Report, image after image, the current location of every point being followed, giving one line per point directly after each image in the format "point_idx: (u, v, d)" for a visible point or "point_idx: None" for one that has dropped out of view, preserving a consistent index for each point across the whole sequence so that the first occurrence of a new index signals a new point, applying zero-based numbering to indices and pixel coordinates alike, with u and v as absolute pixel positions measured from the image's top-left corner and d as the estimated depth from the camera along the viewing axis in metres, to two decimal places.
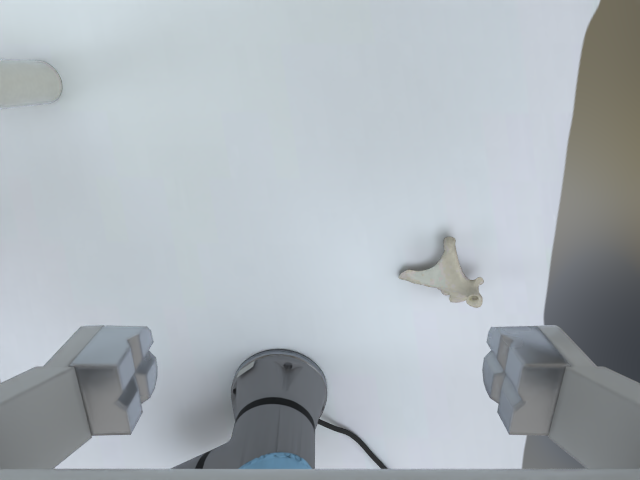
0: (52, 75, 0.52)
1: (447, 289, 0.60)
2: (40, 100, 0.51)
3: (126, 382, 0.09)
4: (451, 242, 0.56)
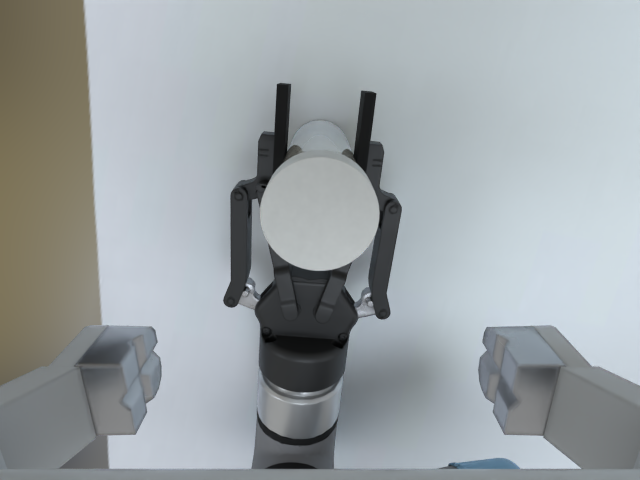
0: None
1: None
2: None
3: (131, 382, 0.09)
4: None
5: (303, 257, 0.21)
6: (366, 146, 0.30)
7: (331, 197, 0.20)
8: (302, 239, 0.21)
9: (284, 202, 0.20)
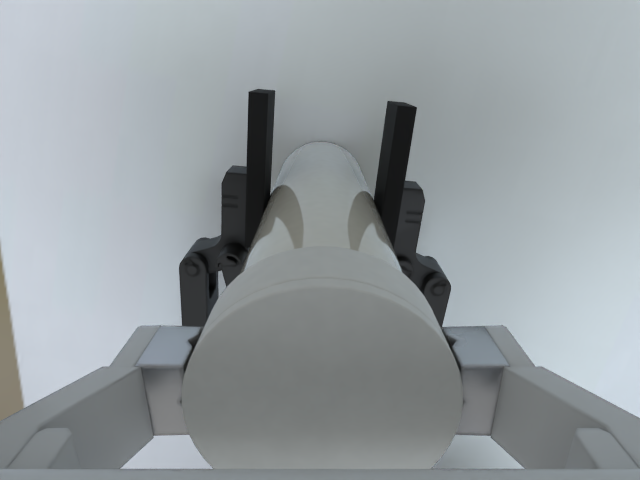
0: None
1: None
2: None
3: None
4: None
5: None
6: (397, 193, 0.18)
7: (352, 372, 0.08)
8: (282, 454, 0.09)
9: (238, 383, 0.08)
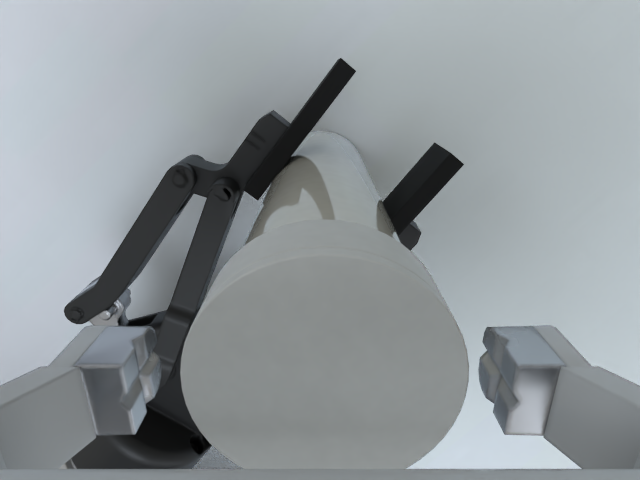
0: None
1: None
2: None
3: (131, 382, 0.09)
4: None
5: None
6: (403, 224, 0.19)
7: (327, 337, 0.08)
8: (314, 440, 0.09)
9: (234, 391, 0.08)
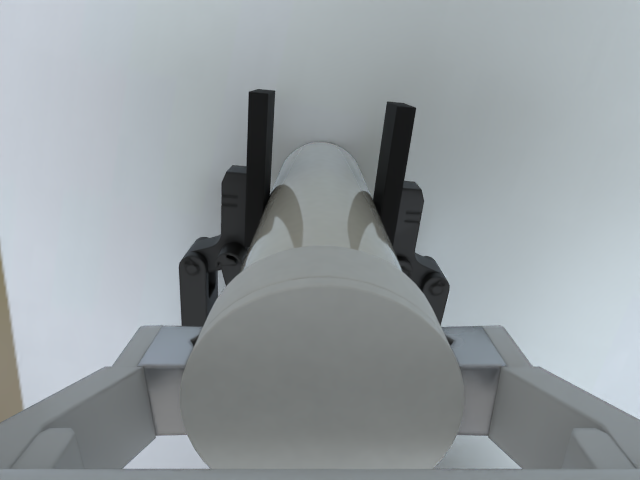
0: None
1: None
2: None
3: None
4: None
5: None
6: (397, 193, 0.18)
7: (292, 371, 0.08)
8: (349, 460, 0.09)
9: (253, 453, 0.09)
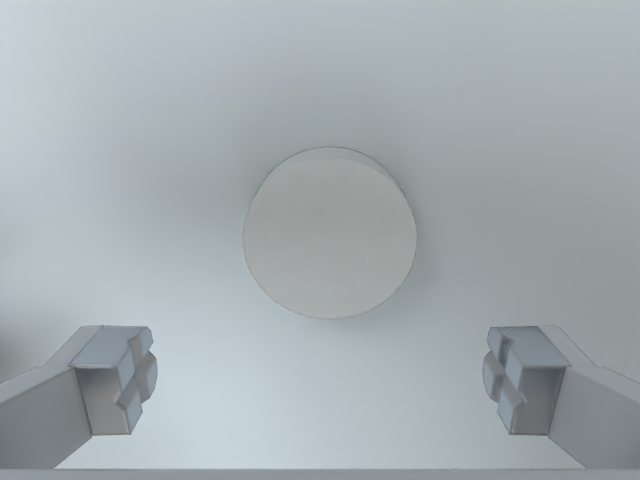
0: None
1: None
2: None
3: (126, 382, 0.09)
4: None
5: (368, 294, 0.14)
6: None
7: (313, 215, 0.13)
8: (344, 281, 0.14)
9: (284, 272, 0.14)
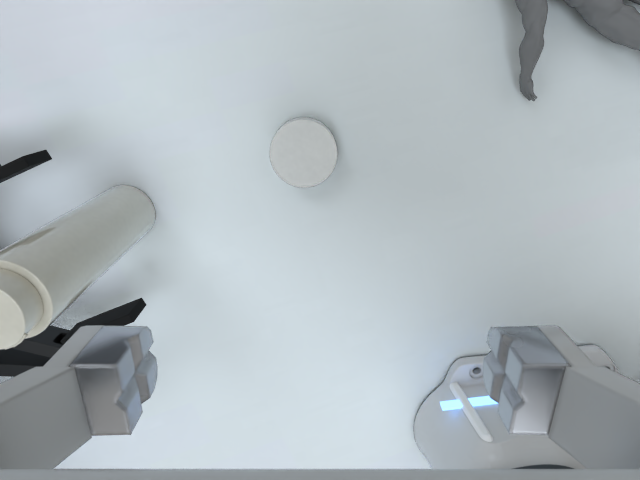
0: None
1: None
2: None
3: (126, 382, 0.09)
4: None
5: (320, 175, 0.36)
6: None
7: (296, 142, 0.35)
8: (310, 169, 0.36)
9: (286, 167, 0.36)
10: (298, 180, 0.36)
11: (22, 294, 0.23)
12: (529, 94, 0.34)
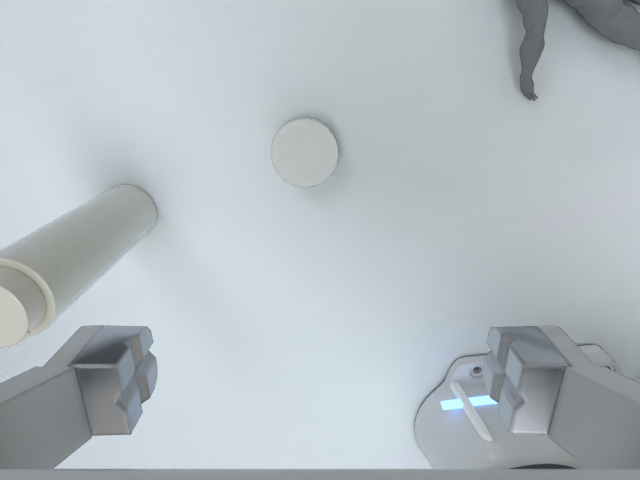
0: None
1: None
2: None
3: (126, 382, 0.09)
4: None
5: (321, 174, 0.36)
6: None
7: (297, 142, 0.35)
8: (311, 169, 0.36)
9: (287, 166, 0.36)
10: (299, 180, 0.36)
11: (25, 292, 0.23)
12: (530, 94, 0.34)
